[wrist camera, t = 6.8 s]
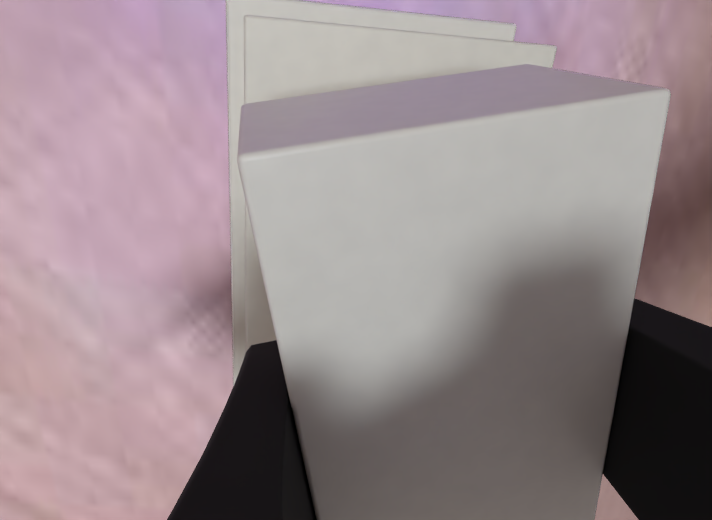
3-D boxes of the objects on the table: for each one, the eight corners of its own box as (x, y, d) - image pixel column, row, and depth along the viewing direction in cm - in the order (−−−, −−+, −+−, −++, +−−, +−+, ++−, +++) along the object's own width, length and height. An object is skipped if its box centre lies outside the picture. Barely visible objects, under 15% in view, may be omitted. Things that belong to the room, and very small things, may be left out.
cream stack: (484, 22, 14) (563, 25, 10) (426, 344, 19) (467, 421, 15) (228, -5, 12) (220, -13, 9) (235, 352, 17) (231, 439, 14)
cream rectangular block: (529, 62, 8) (676, 87, 5) (508, 463, 12) (583, 591, 9) (239, 104, 7) (235, 154, 5) (324, 508, 11) (346, 658, 9)
